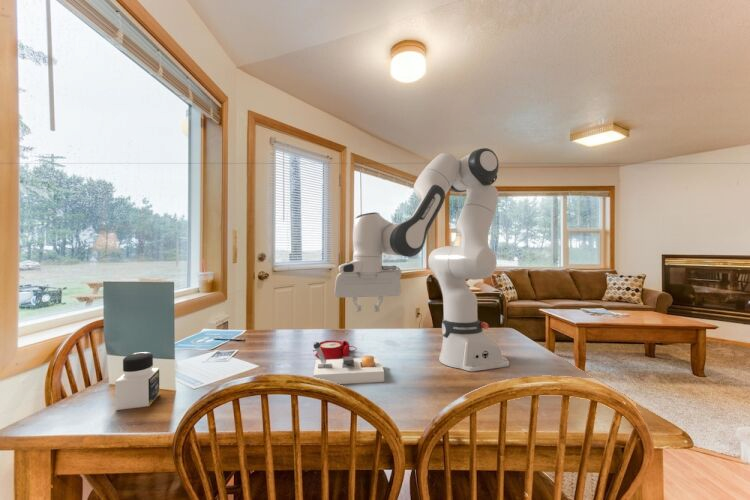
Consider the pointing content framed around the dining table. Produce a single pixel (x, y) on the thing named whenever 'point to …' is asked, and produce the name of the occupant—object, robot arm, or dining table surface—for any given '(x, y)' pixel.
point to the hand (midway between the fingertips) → (367, 311)
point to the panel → (349, 371)
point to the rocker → (348, 360)
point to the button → (367, 361)
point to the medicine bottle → (137, 382)
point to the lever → (319, 352)
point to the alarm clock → (334, 349)
